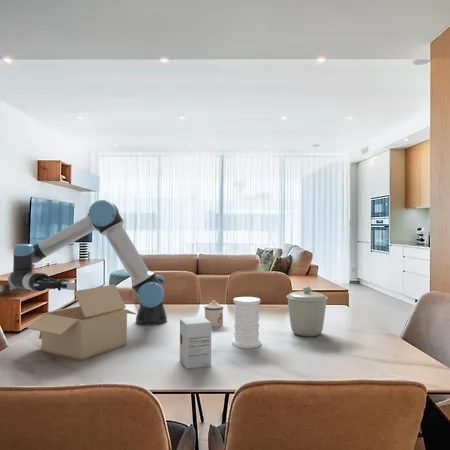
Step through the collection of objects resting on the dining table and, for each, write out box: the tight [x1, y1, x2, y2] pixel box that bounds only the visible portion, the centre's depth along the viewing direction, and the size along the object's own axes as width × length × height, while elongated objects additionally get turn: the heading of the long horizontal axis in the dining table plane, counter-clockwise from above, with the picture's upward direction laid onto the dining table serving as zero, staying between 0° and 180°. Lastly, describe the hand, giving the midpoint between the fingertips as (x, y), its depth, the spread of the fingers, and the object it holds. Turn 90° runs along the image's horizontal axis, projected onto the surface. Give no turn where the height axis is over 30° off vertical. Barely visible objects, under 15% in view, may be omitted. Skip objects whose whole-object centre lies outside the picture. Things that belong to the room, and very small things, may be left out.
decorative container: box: [231, 296, 262, 349], centre depth 155 cm, size 12×12×18 cm
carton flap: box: [73, 284, 127, 318], centre depth 144 cm, size 1×20×10 cm
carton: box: [26, 305, 137, 362], centre depth 149 cm, size 26×37×14 cm
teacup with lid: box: [204, 300, 224, 328], centre depth 186 cm, size 12×9×12 cm
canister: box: [286, 285, 329, 337], centre depth 170 cm, size 18×18×21 cm
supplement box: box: [179, 316, 212, 370], centre depth 132 cm, size 9×9×15 cm
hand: (74, 286), depth 152 cm, fingers closed
